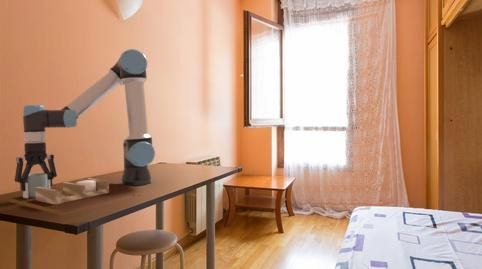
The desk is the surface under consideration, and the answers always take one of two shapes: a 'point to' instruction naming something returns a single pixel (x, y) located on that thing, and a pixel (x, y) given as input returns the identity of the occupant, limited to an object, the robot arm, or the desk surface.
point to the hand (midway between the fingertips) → (37, 196)
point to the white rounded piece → (88, 185)
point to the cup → (36, 182)
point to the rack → (70, 192)
